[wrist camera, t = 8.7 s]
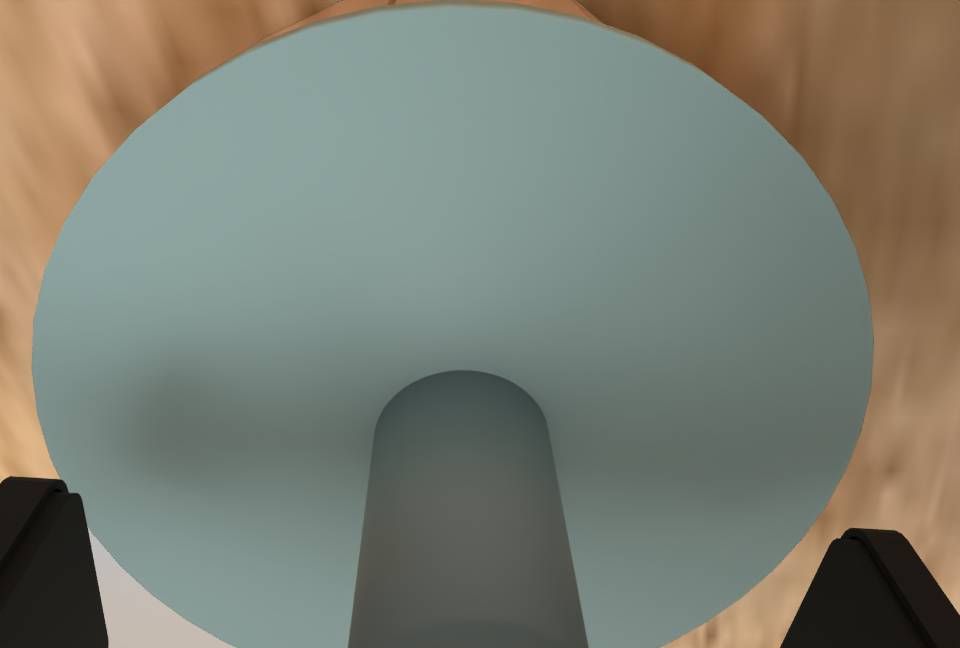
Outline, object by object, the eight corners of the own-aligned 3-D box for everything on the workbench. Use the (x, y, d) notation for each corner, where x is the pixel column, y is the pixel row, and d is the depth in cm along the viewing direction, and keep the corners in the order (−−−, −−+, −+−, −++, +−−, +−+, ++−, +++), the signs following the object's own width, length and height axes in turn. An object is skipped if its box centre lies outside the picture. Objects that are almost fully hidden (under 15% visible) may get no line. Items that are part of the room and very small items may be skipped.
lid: (991, 60, 10) (1419, 210, 6) (724, 671, 17) (828, 967, 12) (-26, -64, 9) (-490, 3, 5) (109, 646, 16) (-29, 964, 11)
